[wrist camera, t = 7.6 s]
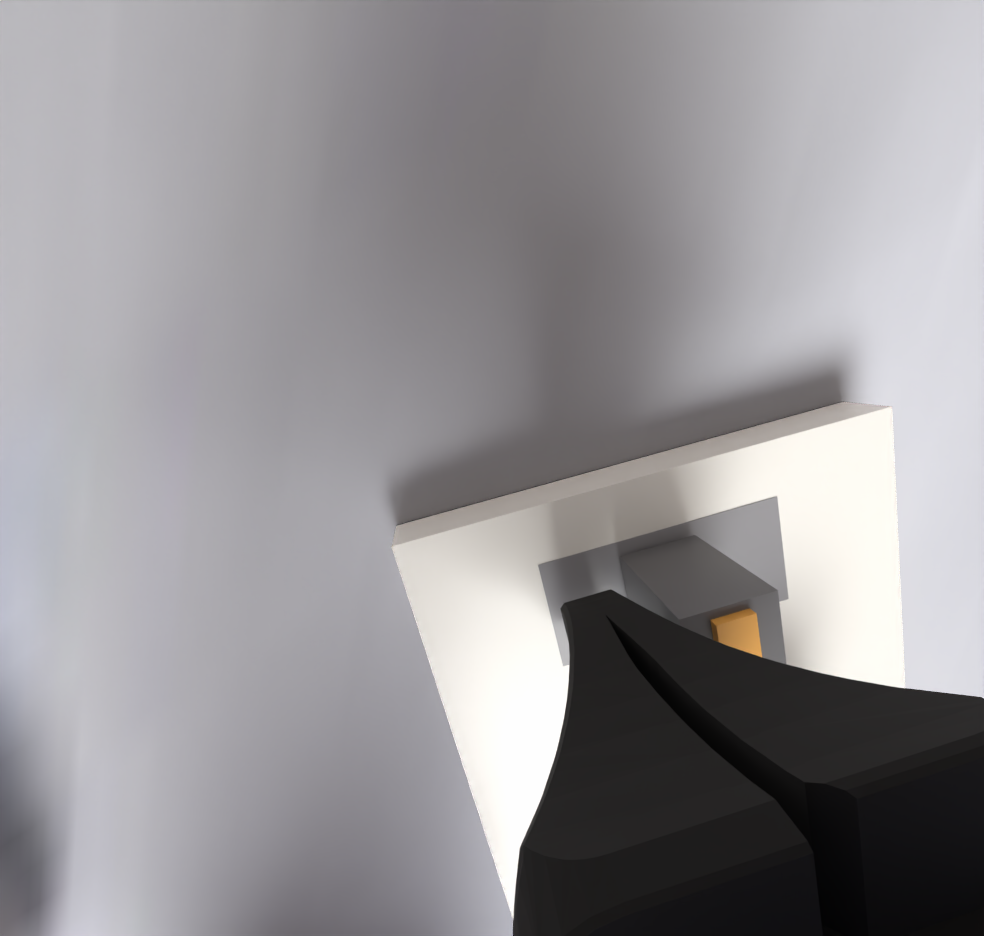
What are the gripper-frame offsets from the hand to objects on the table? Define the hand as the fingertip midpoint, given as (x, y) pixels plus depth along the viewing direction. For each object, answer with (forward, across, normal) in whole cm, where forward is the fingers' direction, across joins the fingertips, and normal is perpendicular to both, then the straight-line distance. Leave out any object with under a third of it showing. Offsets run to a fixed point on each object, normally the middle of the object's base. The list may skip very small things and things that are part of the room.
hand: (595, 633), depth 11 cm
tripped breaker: (+1, -2, 0) cm, 2 cm away
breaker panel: (+3, -2, +6) cm, 7 cm away
